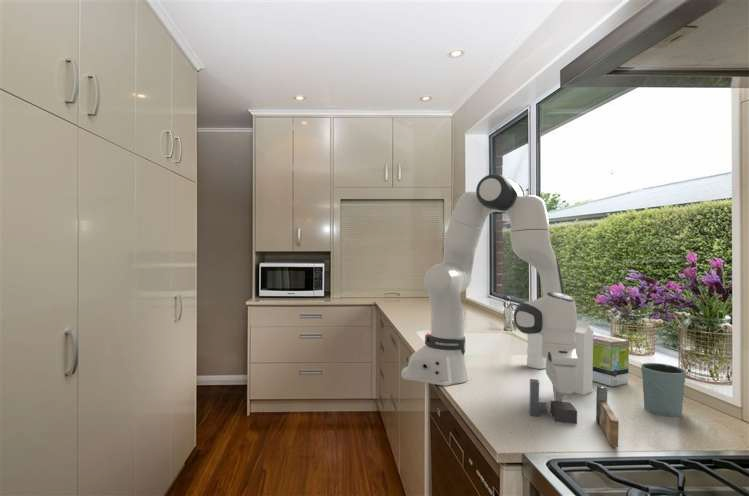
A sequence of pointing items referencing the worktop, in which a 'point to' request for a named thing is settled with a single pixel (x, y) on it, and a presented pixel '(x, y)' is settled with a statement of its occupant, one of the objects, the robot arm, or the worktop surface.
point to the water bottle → (535, 352)
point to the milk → (584, 358)
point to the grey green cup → (663, 388)
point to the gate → (609, 423)
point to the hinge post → (600, 396)
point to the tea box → (610, 360)
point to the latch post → (536, 400)
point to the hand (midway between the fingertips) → (557, 400)
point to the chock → (563, 412)
